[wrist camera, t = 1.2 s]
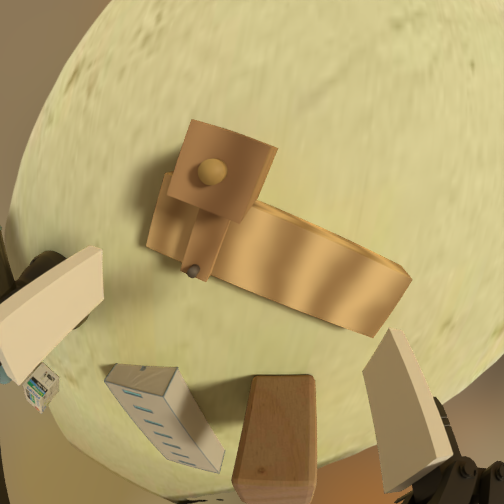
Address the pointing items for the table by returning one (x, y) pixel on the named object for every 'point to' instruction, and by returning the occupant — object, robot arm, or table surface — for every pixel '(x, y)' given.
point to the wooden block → (278, 442)
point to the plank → (290, 263)
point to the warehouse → (167, 414)
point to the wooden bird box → (217, 187)
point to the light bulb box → (41, 387)
